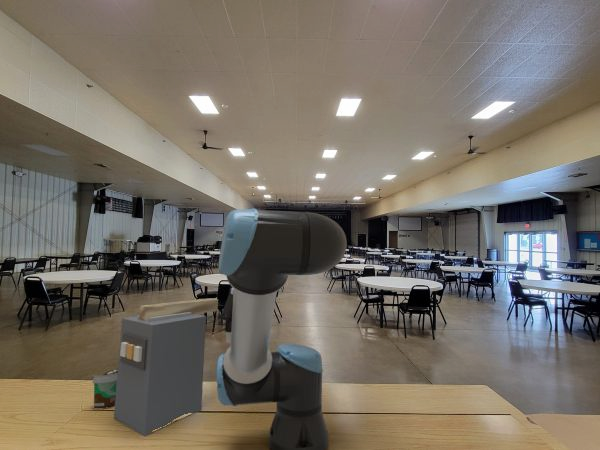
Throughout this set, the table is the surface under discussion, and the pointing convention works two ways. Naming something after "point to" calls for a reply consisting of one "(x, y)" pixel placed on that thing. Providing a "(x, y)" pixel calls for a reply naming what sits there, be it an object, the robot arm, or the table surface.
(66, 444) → the table surface
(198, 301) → the switch bar
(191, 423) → the table surface
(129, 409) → the cabinet
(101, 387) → the food container
